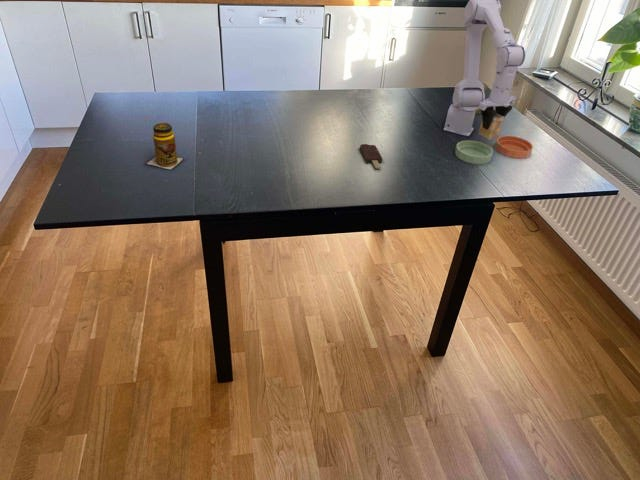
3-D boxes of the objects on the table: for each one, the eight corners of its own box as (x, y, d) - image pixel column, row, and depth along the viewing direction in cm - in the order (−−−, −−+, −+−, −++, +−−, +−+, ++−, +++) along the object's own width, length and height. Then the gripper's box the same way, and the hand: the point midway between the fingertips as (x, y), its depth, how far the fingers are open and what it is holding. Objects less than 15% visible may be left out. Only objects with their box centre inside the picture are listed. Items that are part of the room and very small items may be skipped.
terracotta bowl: (491, 153, 173) (493, 145, 171) (498, 140, 181) (500, 132, 179) (526, 163, 169) (529, 155, 167) (532, 149, 177) (535, 141, 175)
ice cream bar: (386, 170, 159) (373, 148, 171) (386, 165, 158) (374, 143, 170) (369, 170, 158) (358, 148, 170) (370, 166, 157) (359, 144, 169)
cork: (482, 114, 199) (490, 87, 192) (467, 112, 200) (474, 85, 193) (482, 108, 204) (489, 82, 197) (467, 106, 205) (473, 80, 198)
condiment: (171, 170, 151) (166, 133, 144) (146, 164, 153) (140, 127, 146) (183, 159, 157) (179, 123, 149) (159, 153, 158) (154, 118, 151)
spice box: (488, 139, 164) (494, 119, 160) (478, 133, 167) (483, 113, 163) (498, 136, 166) (504, 116, 162) (487, 131, 169) (493, 111, 165)
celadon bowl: (450, 158, 168) (452, 150, 166) (459, 145, 176) (461, 137, 175) (486, 168, 164) (488, 160, 162) (493, 154, 172) (496, 146, 171)
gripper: (495, 94, 151) (484, 136, 159) (528, 87, 157) (515, 127, 166) (478, 86, 155) (468, 127, 164) (510, 79, 162) (498, 119, 170)
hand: (490, 126), depth 165 cm, fingers closed on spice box, 4 cm apart
